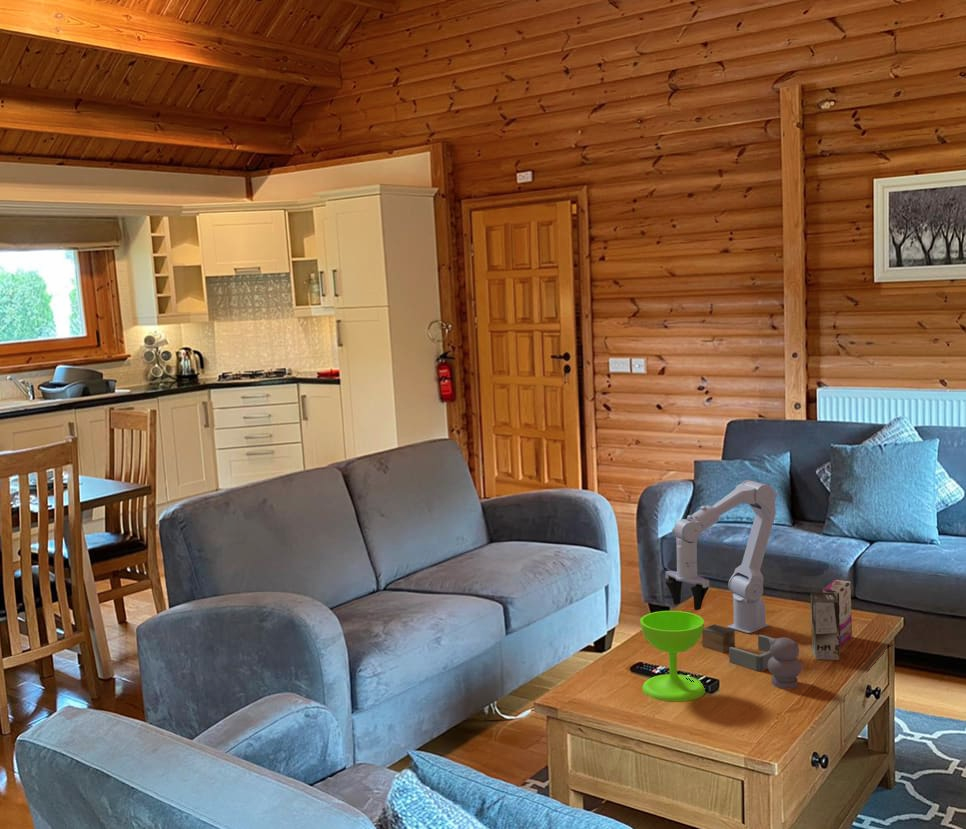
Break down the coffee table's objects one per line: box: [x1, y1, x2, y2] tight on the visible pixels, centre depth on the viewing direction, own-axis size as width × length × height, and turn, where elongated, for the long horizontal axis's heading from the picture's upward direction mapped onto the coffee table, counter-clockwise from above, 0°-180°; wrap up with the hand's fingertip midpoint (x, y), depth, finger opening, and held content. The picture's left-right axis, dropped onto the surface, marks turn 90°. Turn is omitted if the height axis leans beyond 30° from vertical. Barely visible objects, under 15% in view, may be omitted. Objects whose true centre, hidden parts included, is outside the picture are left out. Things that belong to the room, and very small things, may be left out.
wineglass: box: [639, 610, 706, 703], centre depth 247 cm, size 16×16×18 cm
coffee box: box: [810, 592, 840, 661], centre depth 265 cm, size 9×6×16 cm
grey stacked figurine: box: [767, 637, 803, 690], centre depth 247 cm, size 8×8×12 cm
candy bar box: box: [821, 579, 853, 649], centre depth 274 cm, size 11×5×16 cm, turn 143°
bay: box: [728, 634, 776, 672], centre depth 264 cm, size 14×10×4 cm
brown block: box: [701, 623, 736, 654], centre depth 275 cm, size 6×7×5 cm
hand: (687, 606), depth 282 cm, fingers open, 7 cm apart
